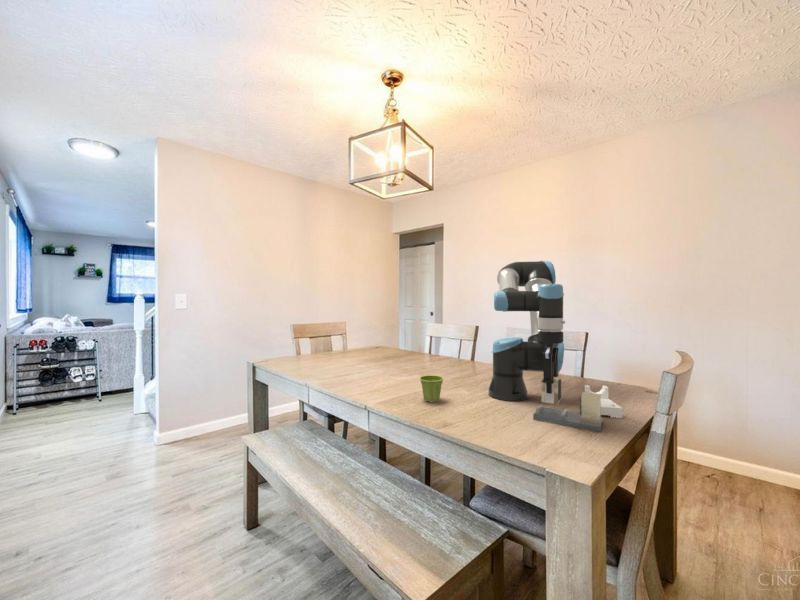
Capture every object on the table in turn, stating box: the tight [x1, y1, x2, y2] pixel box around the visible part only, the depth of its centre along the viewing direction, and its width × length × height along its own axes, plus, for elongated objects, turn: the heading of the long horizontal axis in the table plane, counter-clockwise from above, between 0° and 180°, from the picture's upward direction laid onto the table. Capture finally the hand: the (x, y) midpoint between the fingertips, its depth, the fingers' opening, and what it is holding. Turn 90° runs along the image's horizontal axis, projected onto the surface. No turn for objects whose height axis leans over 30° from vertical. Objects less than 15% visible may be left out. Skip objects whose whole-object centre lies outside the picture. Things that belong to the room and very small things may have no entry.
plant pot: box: [419, 374, 445, 402], centre depth 133 cm, size 9×9×9 cm
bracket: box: [584, 384, 623, 419], centre depth 119 cm, size 13×7×8 cm, turn 170°
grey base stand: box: [532, 391, 604, 433], centre depth 110 cm, size 19×10×10 cm, turn 55°
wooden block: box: [541, 376, 562, 406], centre depth 112 cm, size 5×4×8 cm
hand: (551, 400), depth 113 cm, fingers closed on wooden block, 4 cm apart
